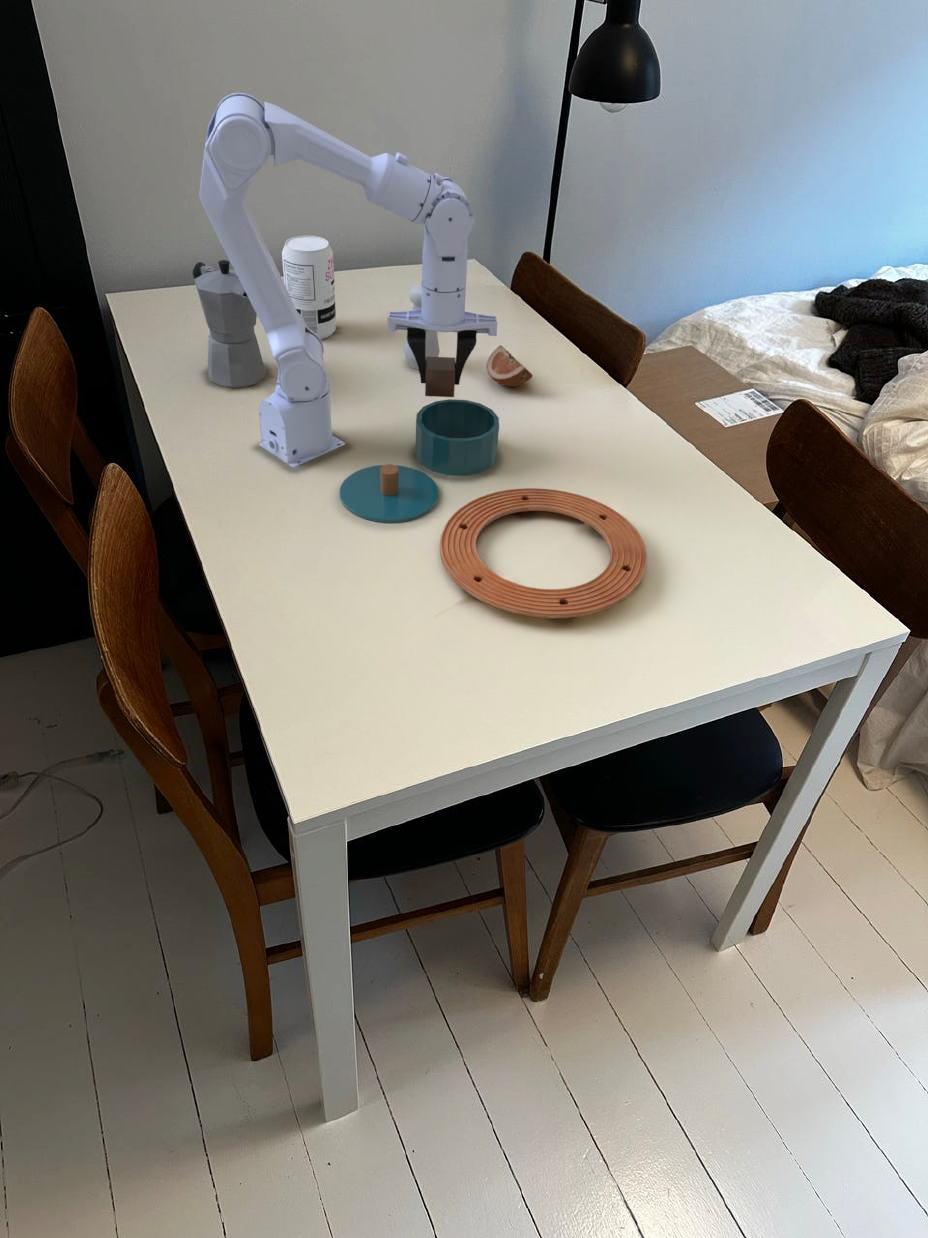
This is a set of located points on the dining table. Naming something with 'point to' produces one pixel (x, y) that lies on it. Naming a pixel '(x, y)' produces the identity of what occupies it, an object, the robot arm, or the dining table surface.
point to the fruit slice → (506, 368)
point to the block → (440, 376)
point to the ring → (535, 602)
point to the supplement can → (311, 282)
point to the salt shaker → (431, 336)
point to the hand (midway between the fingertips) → (440, 380)
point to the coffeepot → (229, 327)
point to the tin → (456, 452)
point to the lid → (389, 493)
